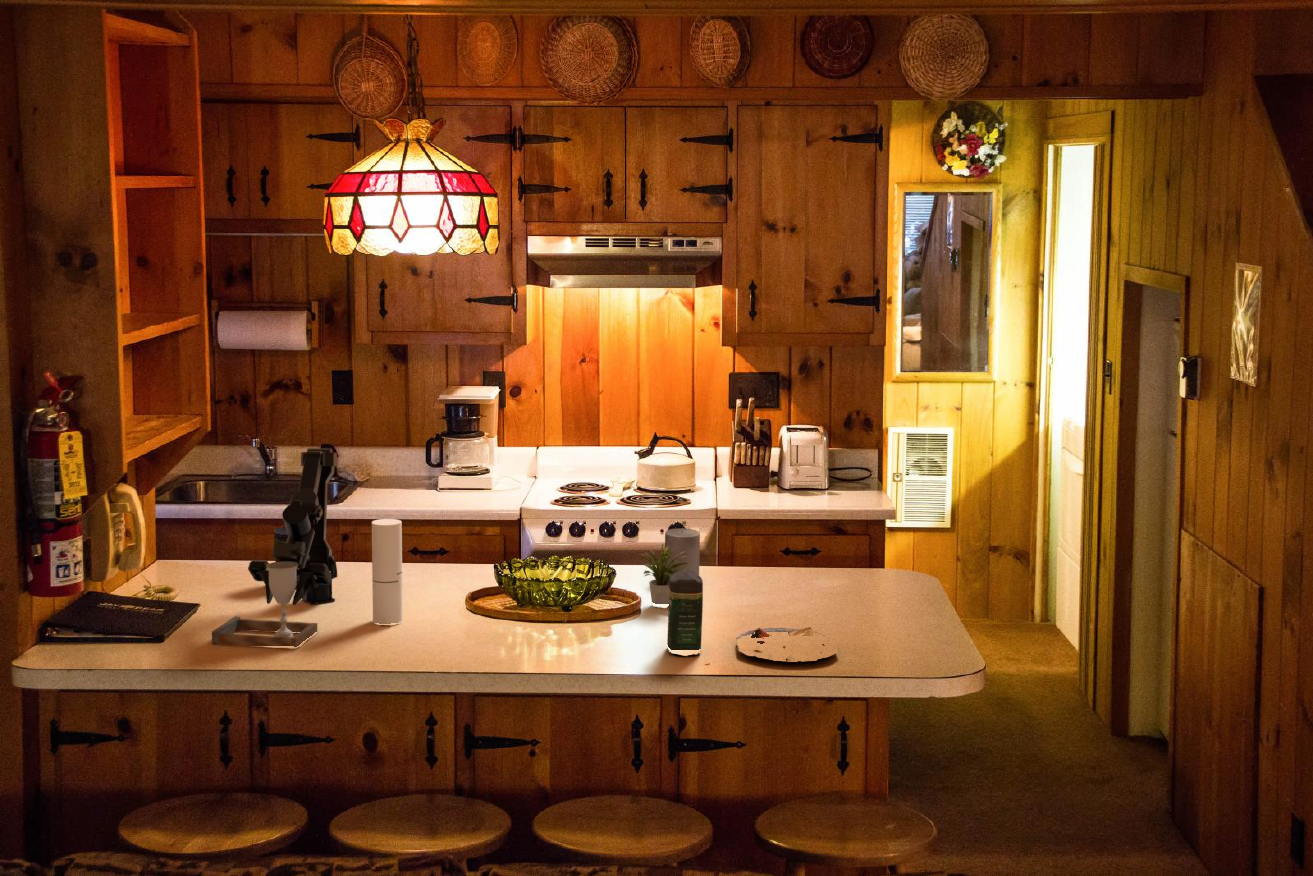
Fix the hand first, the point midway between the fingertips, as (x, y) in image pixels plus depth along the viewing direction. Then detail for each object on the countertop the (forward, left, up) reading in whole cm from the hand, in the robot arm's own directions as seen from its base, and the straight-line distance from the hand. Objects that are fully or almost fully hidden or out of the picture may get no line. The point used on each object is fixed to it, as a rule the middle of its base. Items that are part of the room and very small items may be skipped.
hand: (280, 603), depth 338 cm
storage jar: (-23, -46, -9) cm, 52 cm away
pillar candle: (-113, +7, -9) cm, 113 cm away
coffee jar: (-74, +58, -9) cm, 94 cm away
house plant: (-92, +25, -9) cm, 96 cm away
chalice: (-1, -1, -9) cm, 9 cm away
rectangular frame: (+2, -4, -9) cm, 10 cm away
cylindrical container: (-28, -1, -9) cm, 29 cm away
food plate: (-94, +71, -10) cm, 118 cm away
